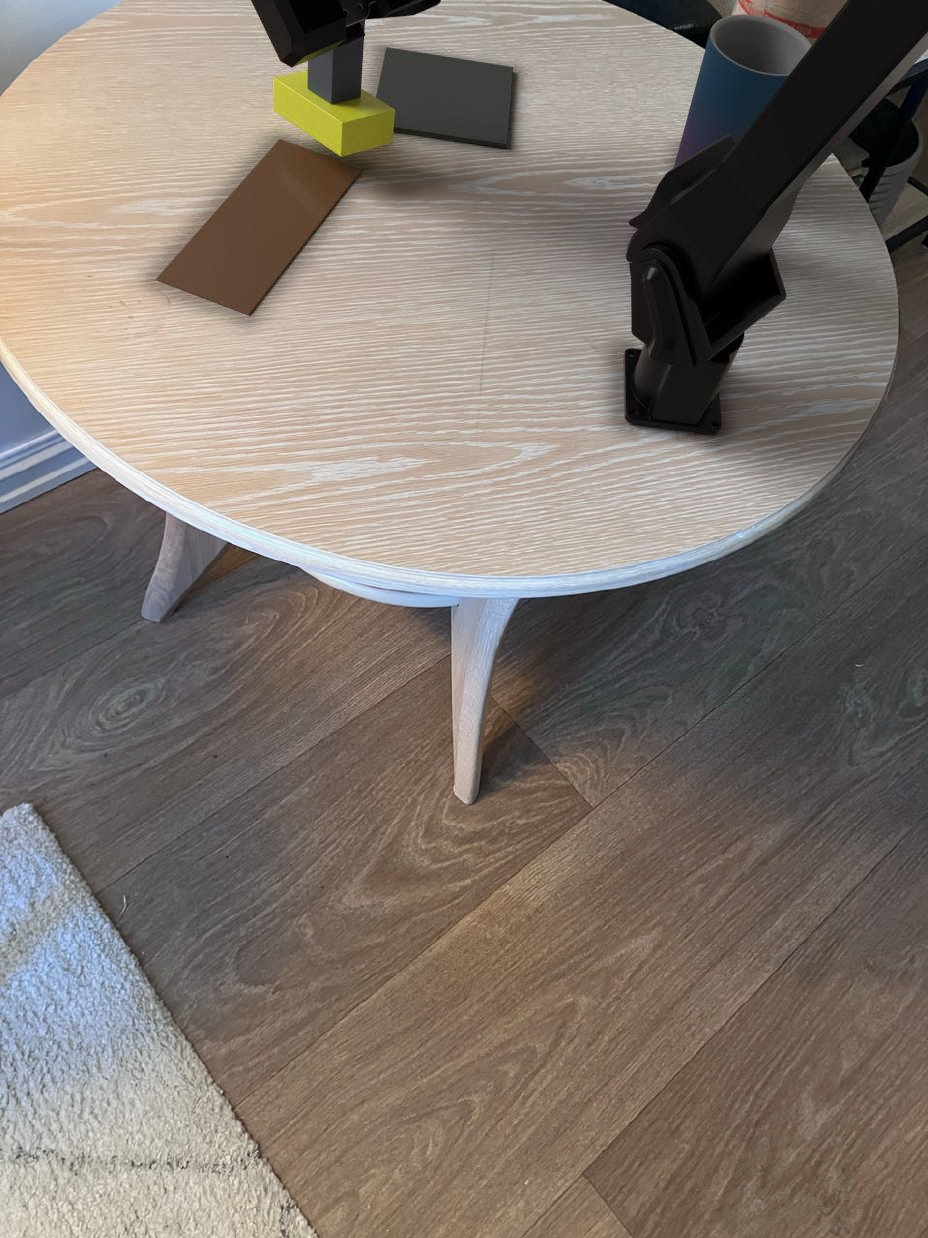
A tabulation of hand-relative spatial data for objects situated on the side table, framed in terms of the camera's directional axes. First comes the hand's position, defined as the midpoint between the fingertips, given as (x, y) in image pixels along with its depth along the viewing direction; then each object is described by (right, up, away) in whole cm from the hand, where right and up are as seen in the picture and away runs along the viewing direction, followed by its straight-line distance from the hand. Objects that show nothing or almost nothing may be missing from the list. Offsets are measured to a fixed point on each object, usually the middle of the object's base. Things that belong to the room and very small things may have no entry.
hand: (320, 19), depth 66 cm
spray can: (+32, -6, +11) cm, 34 cm away
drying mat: (+9, +1, +11) cm, 14 cm away
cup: (+27, -14, +6) cm, 31 cm away
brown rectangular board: (-4, -14, +1) cm, 14 cm away
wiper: (0, -5, +4) cm, 7 cm away
